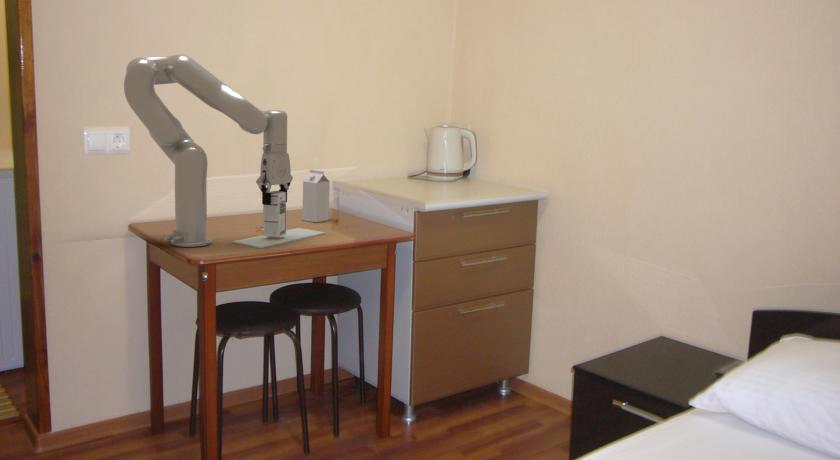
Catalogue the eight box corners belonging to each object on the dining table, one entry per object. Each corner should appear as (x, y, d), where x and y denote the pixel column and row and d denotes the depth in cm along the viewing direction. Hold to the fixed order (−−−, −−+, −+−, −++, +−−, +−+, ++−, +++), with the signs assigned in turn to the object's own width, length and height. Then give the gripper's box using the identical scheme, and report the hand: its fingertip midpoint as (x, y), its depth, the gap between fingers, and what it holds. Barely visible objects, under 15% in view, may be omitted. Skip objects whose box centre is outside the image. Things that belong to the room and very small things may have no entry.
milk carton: (315, 218, 298) (316, 169, 295) (329, 220, 294) (330, 171, 291) (302, 220, 293) (303, 170, 289) (316, 222, 288) (316, 172, 285)
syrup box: (279, 237, 252) (279, 193, 249) (262, 236, 253) (262, 192, 250) (286, 234, 257) (286, 191, 255) (269, 233, 259) (269, 190, 256)
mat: (260, 248, 242) (260, 246, 242) (232, 243, 248) (232, 241, 248) (325, 234, 269) (325, 232, 268) (298, 229, 275) (298, 227, 275)
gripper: (265, 151, 241) (264, 207, 244) (301, 148, 255) (301, 201, 259) (247, 149, 245) (247, 204, 248) (284, 146, 259) (283, 199, 263)
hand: (274, 202), depth 253 cm, fingers closed on syrup box, 7 cm apart
